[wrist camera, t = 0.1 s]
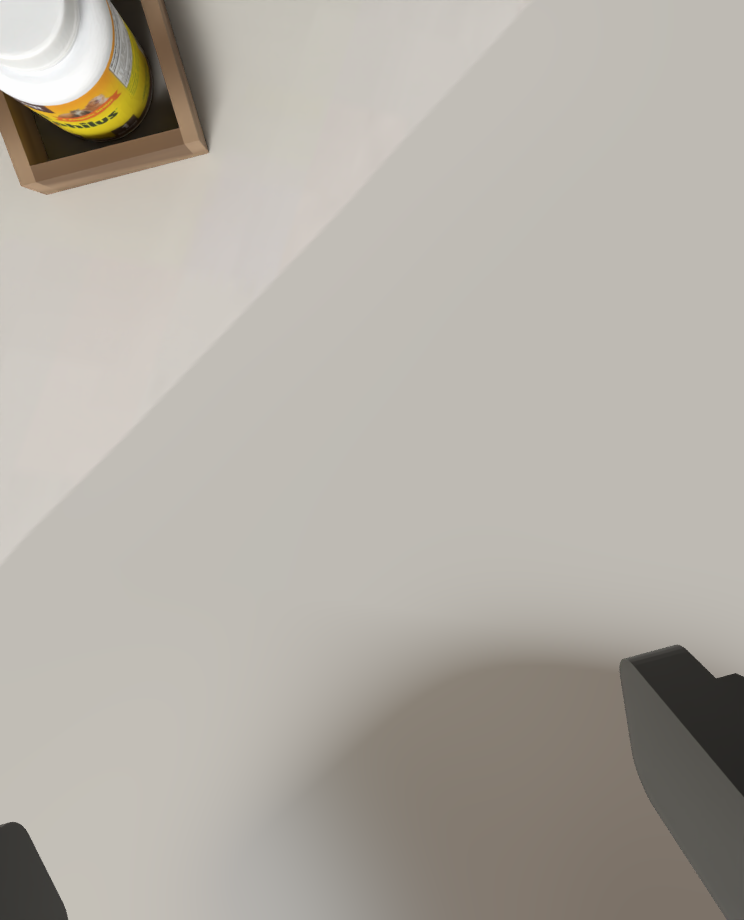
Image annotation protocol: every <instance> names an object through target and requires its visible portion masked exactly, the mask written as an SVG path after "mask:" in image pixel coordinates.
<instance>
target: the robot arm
mask: <svg viewBox="0 0 744 920" xmlns="http://www.w3.org/2000/svg"><path fill="white" fill-rule="evenodd" d="M620 678H621V685H622V691H623V697H624V704H625V710H626V716H627V723H628V730H629V736H630V743H631V749H632V755H633V759H634V763H635V766H636V770H637V772H638V775H639V778H640V780H641V783H642V785H643V787H644V789H645V792H646V794H647V796H648V798H649V800H650V802H651V803H652V805H653V807H654V808H655V810H656V811H657V813H658V814H659V816H660V818H661V819H662V820H663V822H664V823H665V825H666V826H667V828H668V830H669V831H670V833H671V834H672V836H673V837H674V839H675V841H676V842H677V844H678V845H679V847H680V848H681V850H682V851H683V853H684V854H685V856H686V858H687V859H688V860H689V862H690V864H691V865H692V867H693V868H694V870H695V871H696V873H697V874H698V876H699V877H700V879H701V881H702V882H703V884H704V885H705V887H706V888H707V890H708V891H709V893H710V894H711V896H712V897H713V899H714V901H715V902H716V904H717V905H718V907H719V908H720V910H721V911H722V913H723V914H724V916H725V917H726V919H727V920H744V677H743V676H741V675H738V674H736V673H735V674H731V675H727V676H724V677H720V678H715V677H714V676H713V675H712V674H711V673H710V672H709V671H708V670H707V669H706V668H705V667H703V665H702V664H701V663H700V662H698V660H696V659H695V658H694V657H693V656H692V655H691V654H690V653H689V652H688V651H687V650H686V649H685V648H684V647H682V646H680V645H674V646H670V647H666V648H662V649H659V650H655V651H651V652H647V653H644V654H640V655H636V656H633V657H629V658H626V659H622V660H621V662H620ZM0 920H68V917H67V912H66V909H65V907H64V904H63V902H62V900H61V898H60V896H59V894H58V892H57V890H56V888H55V886H54V884H53V882H52V880H51V878H50V876H49V874H48V872H47V870H46V868H45V866H44V864H43V862H42V860H41V858H40V857H39V854H38V852H37V850H36V848H35V846H34V844H33V842H32V840H31V838H30V836H29V834H28V833H27V831H26V829H25V828H24V827H23V826H22V825H20V824H18V823H16V822H10V823H6V824H2V825H0Z"/></svg>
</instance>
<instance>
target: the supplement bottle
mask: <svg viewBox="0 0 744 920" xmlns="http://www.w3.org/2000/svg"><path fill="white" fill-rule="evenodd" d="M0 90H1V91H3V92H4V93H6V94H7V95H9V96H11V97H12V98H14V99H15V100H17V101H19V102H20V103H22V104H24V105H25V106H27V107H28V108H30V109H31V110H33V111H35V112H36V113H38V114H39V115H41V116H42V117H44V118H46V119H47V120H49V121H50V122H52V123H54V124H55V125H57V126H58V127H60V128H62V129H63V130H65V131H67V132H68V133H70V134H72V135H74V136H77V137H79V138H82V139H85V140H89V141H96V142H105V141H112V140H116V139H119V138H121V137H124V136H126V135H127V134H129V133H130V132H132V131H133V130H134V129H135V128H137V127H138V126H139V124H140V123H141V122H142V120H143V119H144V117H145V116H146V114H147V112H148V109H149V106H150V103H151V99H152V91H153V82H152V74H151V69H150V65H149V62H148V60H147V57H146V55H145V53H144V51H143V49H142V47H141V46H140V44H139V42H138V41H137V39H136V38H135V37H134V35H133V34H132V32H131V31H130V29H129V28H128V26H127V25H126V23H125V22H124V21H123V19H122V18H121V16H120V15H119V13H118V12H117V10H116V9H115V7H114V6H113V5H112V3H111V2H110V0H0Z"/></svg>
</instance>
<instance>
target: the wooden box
mask: <svg viewBox="0 0 744 920" xmlns="http://www.w3.org/2000/svg"><path fill="white" fill-rule="evenodd" d="M141 4H142V7H143V10H144V13H145V17H146V20H147V23H148V27H149V30H150V33H151V36H152V40H153V43H154V46H155V50H156V53H157V56H158V59H159V63H160V66H161V69H162V72H163V76H164V79H165V82H166V86H167V89H168V92H169V95H170V99H171V102H172V105H173V108H174V112H175V115H176V118H177V122H178V125H179V128H177V129H173V130H169V131H165V132H161V133H157V134H153V135H149V136H146V137H142V138H138V139H134V140H130V141H126V142H122V143H118V144H114V145H110V146H107V147H103V148H99V149H95V150H91V151H87V152H83V153H79V154H75V155H72V156H68V157H64V158H60V159H56V160H52V161H49V159H48V156H47V153H46V150H45V148H44V145H43V142H42V139H41V137H40V134H39V131H38V128H37V126H36V123H35V120H34V117H33V115H32V112H31V109H30V108H28V107H27V106H25V105H24V104H22V103H20V102H19V101H17V100H15V99H14V98H12V97H11V96H9V95H7V94H6V93H4V92H3V91H1V90H0V132H1V134H2V137H3V139H4V142H5V145H6V147H7V150H8V153H9V155H10V158H11V161H12V163H13V166H14V169H15V171H16V174H17V177H18V179H19V182H20V185H21V186H22V187H25V188H28V189H31V190H34V191H37V192H40V193H43V194H46V195H48V194H52V193H56V192H59V191H63V190H67V189H71V188H75V187H79V186H83V185H87V184H90V183H94V182H98V181H102V180H106V179H110V178H114V177H118V176H121V175H125V174H129V173H133V172H137V171H141V170H145V169H148V168H152V167H156V166H160V165H164V164H168V163H172V162H176V161H179V160H183V159H187V158H191V157H195V156H199V155H203V154H207V153H209V152H208V148H207V145H206V141H205V138H204V135H203V131H202V128H201V125H200V121H199V118H198V114H197V111H196V108H195V104H194V101H193V98H192V94H191V91H190V87H189V84H188V81H187V77H186V74H185V71H184V67H183V64H182V61H181V57H180V54H179V50H178V47H177V44H176V40H175V37H174V34H173V30H172V27H171V23H170V20H169V17H168V13H167V10H166V7H165V3H164V0H141Z"/></svg>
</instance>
